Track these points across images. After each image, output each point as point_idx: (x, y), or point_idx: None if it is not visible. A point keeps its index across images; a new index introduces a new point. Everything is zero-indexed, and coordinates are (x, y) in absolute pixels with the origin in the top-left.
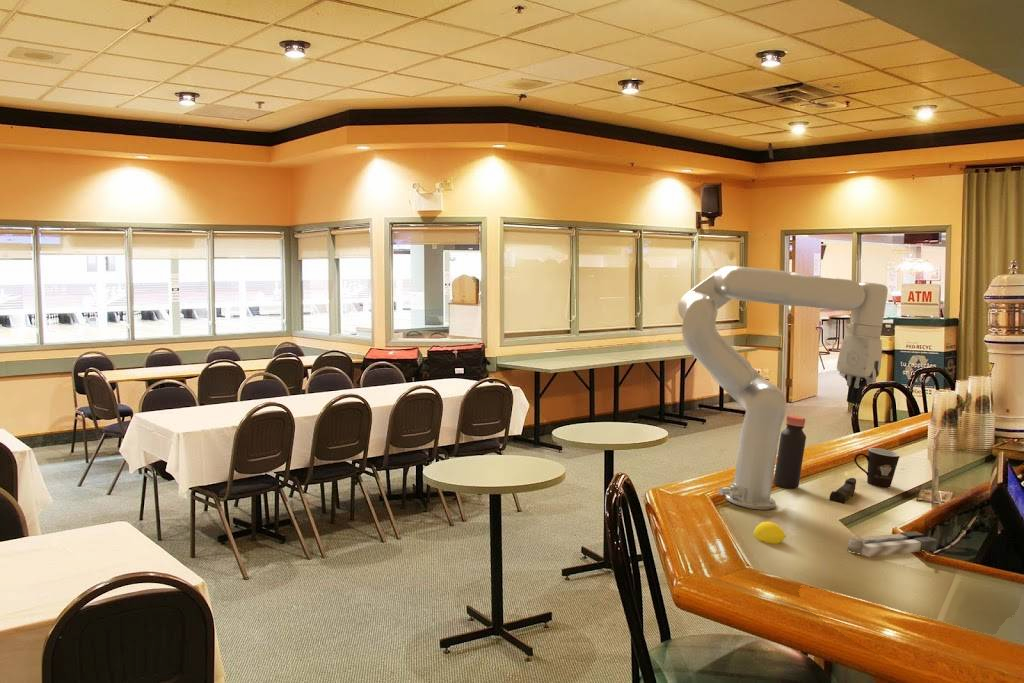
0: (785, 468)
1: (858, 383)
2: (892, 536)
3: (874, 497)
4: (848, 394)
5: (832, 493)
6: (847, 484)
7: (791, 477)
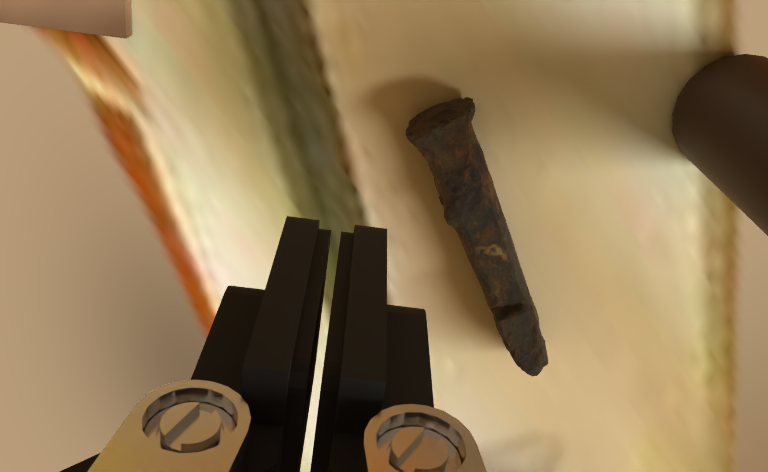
0: (765, 84)
1: (99, 467)
2: None
3: (445, 370)
4: (366, 283)
5: (464, 110)
6: (511, 294)
7: (710, 97)
